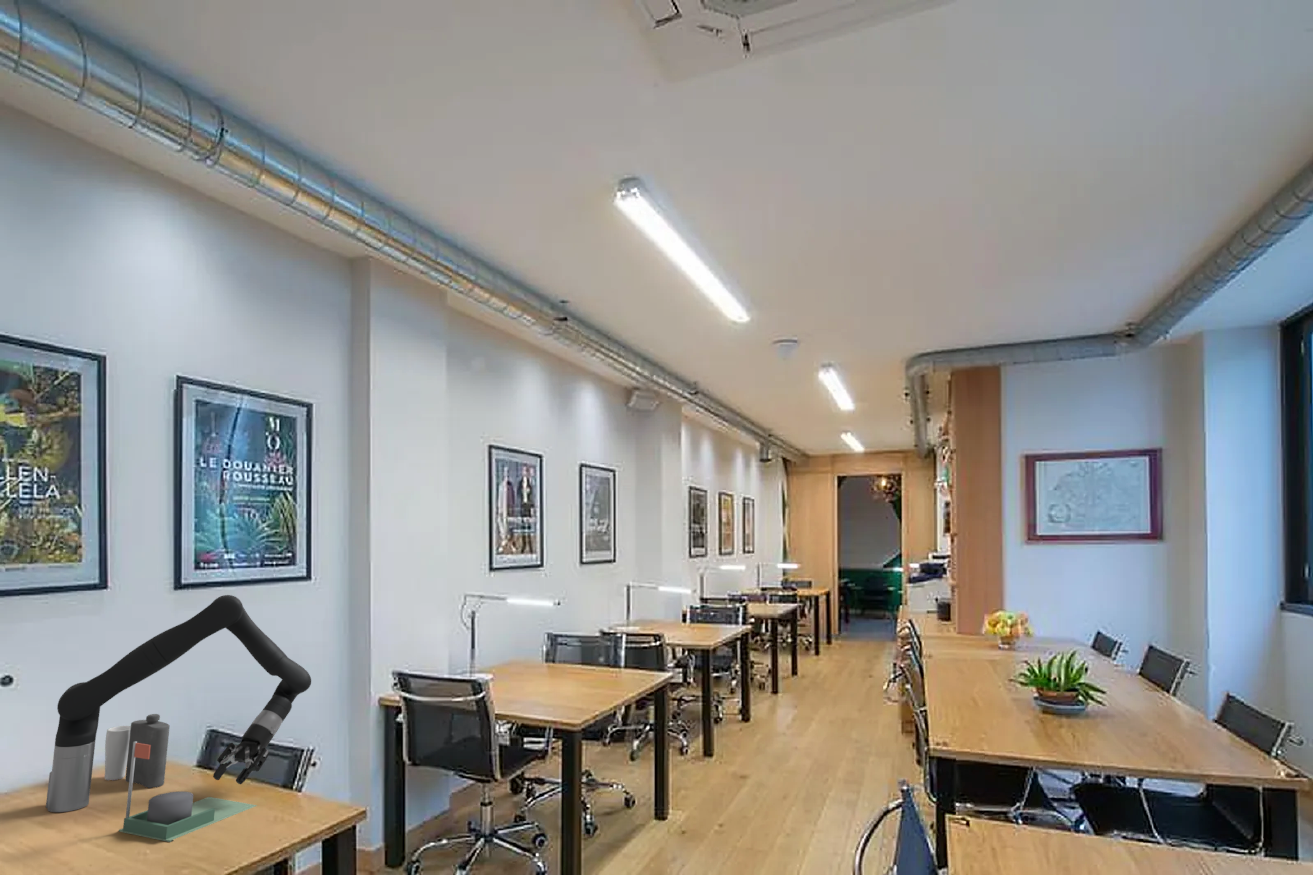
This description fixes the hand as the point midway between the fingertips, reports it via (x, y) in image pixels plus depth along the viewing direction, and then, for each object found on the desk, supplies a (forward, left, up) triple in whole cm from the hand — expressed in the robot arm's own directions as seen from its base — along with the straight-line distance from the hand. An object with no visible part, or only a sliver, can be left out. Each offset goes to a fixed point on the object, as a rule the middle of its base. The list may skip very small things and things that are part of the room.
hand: (226, 780), depth 220 cm
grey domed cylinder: (0, -17, -6) cm, 19 cm away
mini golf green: (0, -11, -7) cm, 13 cm away
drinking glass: (-50, +5, -7) cm, 51 cm away
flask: (-38, +6, -7) cm, 39 cm away
